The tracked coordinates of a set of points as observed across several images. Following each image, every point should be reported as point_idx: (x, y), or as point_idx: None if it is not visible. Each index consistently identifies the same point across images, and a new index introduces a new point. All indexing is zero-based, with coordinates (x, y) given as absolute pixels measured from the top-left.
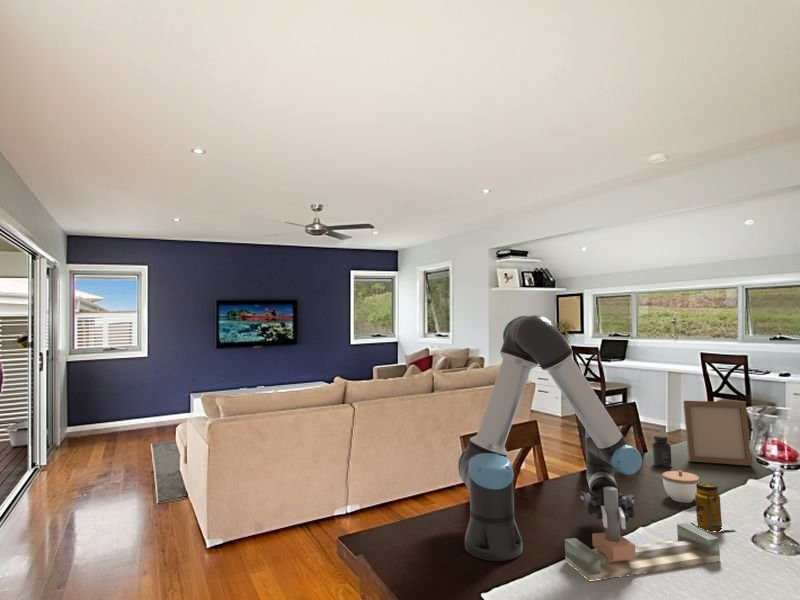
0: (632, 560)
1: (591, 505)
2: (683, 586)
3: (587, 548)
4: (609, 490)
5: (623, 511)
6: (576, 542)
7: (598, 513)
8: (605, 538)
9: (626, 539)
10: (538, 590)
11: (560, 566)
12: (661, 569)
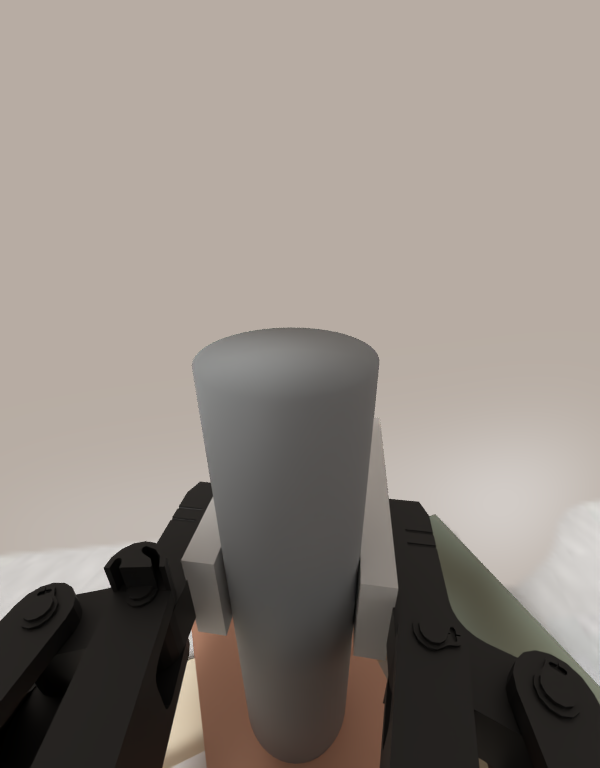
0: (191, 754)
1: (521, 656)
2: (98, 584)
3: (453, 598)
4: (315, 331)
5: (185, 547)
6: None
7: (413, 505)
8: (349, 700)
9: (202, 694)
10: (561, 517)
11: None
12: None
